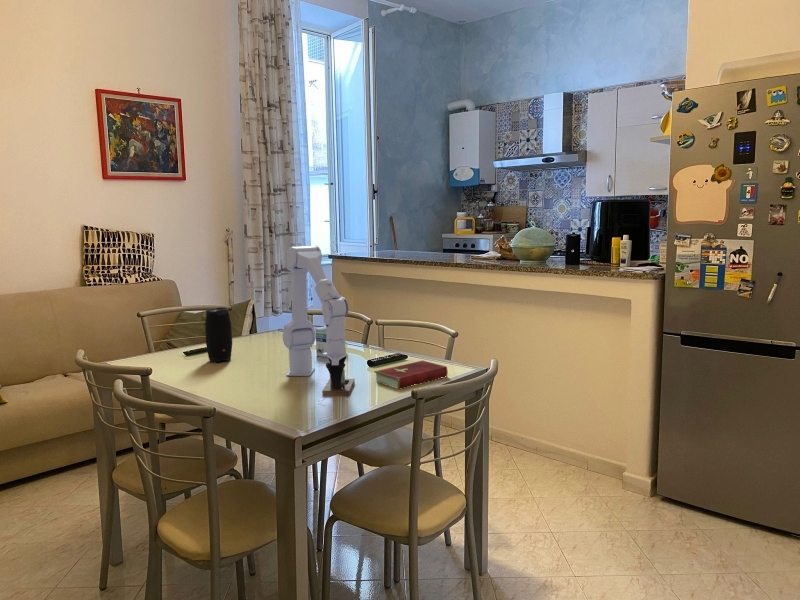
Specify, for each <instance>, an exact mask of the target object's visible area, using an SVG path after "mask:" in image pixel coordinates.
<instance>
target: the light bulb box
mask: <svg viewBox="0 0 800 600" xmlns="http://www.w3.org/2000/svg"><path fill="white" fill-rule="evenodd" d="M315 336H316V339H315V351H316V355H315V356H316V357H323V358H327V359H328V357H327V356H323V353H326V352H327V345H326V325H324V326H320V327H318V328H315Z"/></svg>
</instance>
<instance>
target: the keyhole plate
mask: <svg viewBox="0 0 800 600" xmlns="http://www.w3.org/2000/svg"><path fill="white" fill-rule="evenodd" d="M355 381H356V380H355V378H345V387H344V388H342V389H333V388H331V387H330V378H329V379H328V380H327V382H326V384H325V386H324V387H323V389H321V390H322V391H321V392H322V396H323V397H324V396H325V397H327V396H328V397H331V396H332V397H346V396H347V397H348V396H350V395H351V393H352V391H351V390H353V388H354V386H355Z"/></svg>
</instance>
